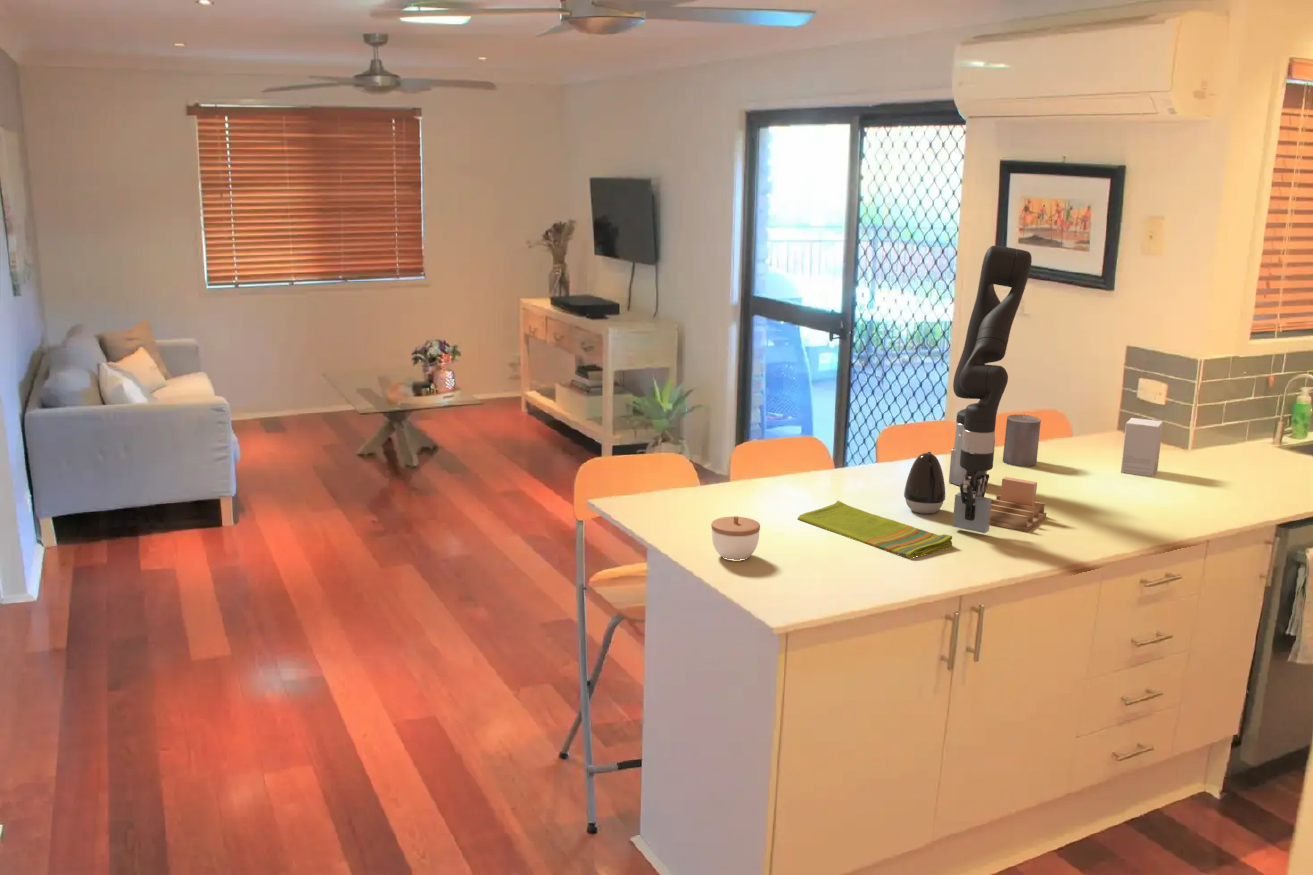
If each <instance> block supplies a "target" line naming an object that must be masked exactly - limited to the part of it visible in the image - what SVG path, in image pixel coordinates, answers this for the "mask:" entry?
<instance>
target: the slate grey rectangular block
mask: <svg viewBox="0 0 1313 875" xmlns="http://www.w3.org/2000/svg"><path fill="white" fill-rule="evenodd" d="M968 499H969V498H968ZM992 499H993V498H990V497H985V496H984V497H981V496H977V499H976V505H975V517H974V520H973V521H970V520H966V519H965V508H966V504H963V503H962V500H961V492H957V493H956V494H955V495H954V503H953V504H954V505H953V515H952V516H953V517H952V527H953V528H957V529H961V530H967V531H972V532H976V533H982V534H986V533H988V532H989V531H990V524H989V523H990V512H991V502H992Z"/></svg>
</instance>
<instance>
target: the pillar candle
mask: <svg viewBox="0 0 1313 875" xmlns="http://www.w3.org/2000/svg"><path fill="white" fill-rule="evenodd" d="M1041 422H1042V419H1041V418H1040V417H1037V416H1034V415H1030V414H1025V413H1023V414H1011V415H1007V417H1006V425H1005V426H1006V427H1005V436H1004V444H1003V457H1002V462H1003V463H1005V464H1006V463H1007V465H1009V464H1010V466H1014V465H1015V467H1022V466H1025V467H1026V466H1028V467H1032V466H1036V465H1035V464H1037V463H1038V462H1037V461H1038V451H1039V440H1040V433H1041V432H1040V430H1041Z"/></svg>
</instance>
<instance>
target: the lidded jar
mask: <svg viewBox="0 0 1313 875" xmlns="http://www.w3.org/2000/svg"><path fill="white" fill-rule="evenodd" d="M760 530H761V524H760V522H759V521H757V520H755V519H753V518H749V517H746V516H738V515H733V516H724V517H719V518H716V519H714V520H712V522H711V540H712V545H713V547H714V549H715V551H716V552H717V554H718V555H719V556H720V557H721V556H722V557H724V558H727V559H734V560H740V559H746V558H748V559H749V557H750V556H751V555H753V554H754V552H755V551H756V549H757V546H758V543H759V539H760Z"/></svg>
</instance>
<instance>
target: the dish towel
mask: <svg viewBox="0 0 1313 875" xmlns="http://www.w3.org/2000/svg"><path fill="white" fill-rule="evenodd" d="M797 520H798V521H800V522H803V521H804V523H806V524H809V525H812V526H815V527H818V528H821V529H823V530H826V529H827V530H826V531H829V530H830V532H832V533H835V534H837V535H838V534H839V535H840V534H841V536H844V537H846V538H849V537H850V538H849V539H852V540H855V541H857V542H860V543H863V544H866V545H868V546H872V547H874V546H875V547H874V548H876V549H880V550H882V551H883V550H884V551H885V550H886V552H888V551H889V553H891V552H892V553H891V554H893V555H897V554H899V555H898V556H900V555H902V556H901V557H903V556H905V557H904V558H907V559H909V558H913V557H916V556H921V555H924V554H928V555H931V554H934V553H937V551H938V552H939V551H940V550H941V551H944V550H947V549H949V548H952V547H953V542H952V540H953V535H950V534H949V535H948V534H936V533H934V532H930V531H927V530H924V529H921V528H918V527H914V526H912V525H909V524H905V523H901V522H899V521H896V520H894V519H891V518H887V517H883V516H880V515H876V514H873V513H870V512H868V511H864V510H861V509H859V508H857V507H854V506H851V505H848V504H846V503H844V502H842V501H840V500H837V501H836V502H835V503H834V504H829V505H826V506H825V507H821V508H818V509H815V510H811V511H807V512H804V513H802V514H800V515H799V516H798V517H797ZM946 548H947V549H946ZM943 549H944V550H943ZM933 552H934V553H933ZM924 556H925V555H924ZM921 557H922V556H921Z"/></svg>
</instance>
